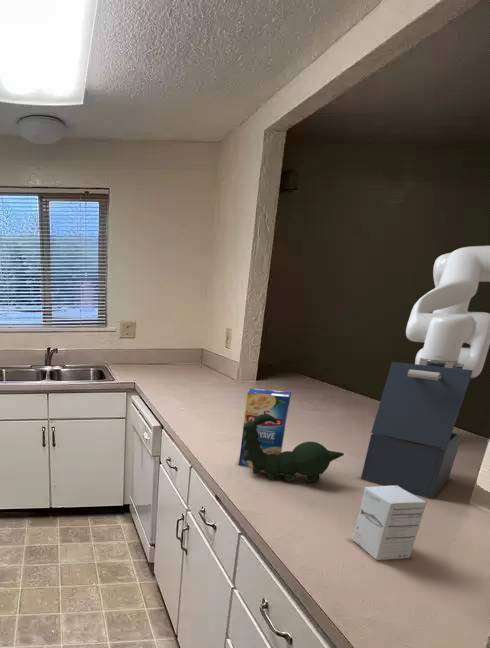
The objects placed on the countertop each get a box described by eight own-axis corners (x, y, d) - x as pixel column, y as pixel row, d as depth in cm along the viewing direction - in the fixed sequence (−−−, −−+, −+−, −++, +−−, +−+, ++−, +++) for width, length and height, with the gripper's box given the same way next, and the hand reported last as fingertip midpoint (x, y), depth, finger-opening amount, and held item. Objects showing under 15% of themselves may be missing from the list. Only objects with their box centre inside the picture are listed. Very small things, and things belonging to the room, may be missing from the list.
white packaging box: (350, 540, 91) (363, 485, 87) (383, 538, 92) (398, 484, 87) (375, 561, 84) (390, 503, 80) (411, 559, 85) (428, 501, 80)
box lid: (393, 362, 112) (387, 360, 108) (473, 370, 100) (469, 368, 97) (371, 432, 116) (365, 433, 112) (446, 448, 104) (442, 449, 101)
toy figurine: (241, 483, 121) (343, 490, 112) (242, 418, 115) (351, 419, 106) (242, 471, 129) (338, 476, 120) (244, 409, 123) (344, 410, 114)
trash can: (382, 462, 131) (392, 421, 127) (448, 478, 120) (462, 434, 115) (360, 478, 120) (371, 434, 116) (431, 498, 109) (445, 450, 104)
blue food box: (277, 471, 125) (289, 397, 118) (238, 464, 130) (247, 392, 122) (279, 463, 131) (291, 391, 123) (242, 457, 136) (250, 388, 128)
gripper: (481, 368, 107) (459, 439, 113) (403, 361, 119) (387, 425, 125) (475, 372, 102) (453, 445, 109) (395, 364, 114) (379, 430, 120)
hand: (418, 434), depth 117 cm, fingers closed on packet, 3 cm apart
